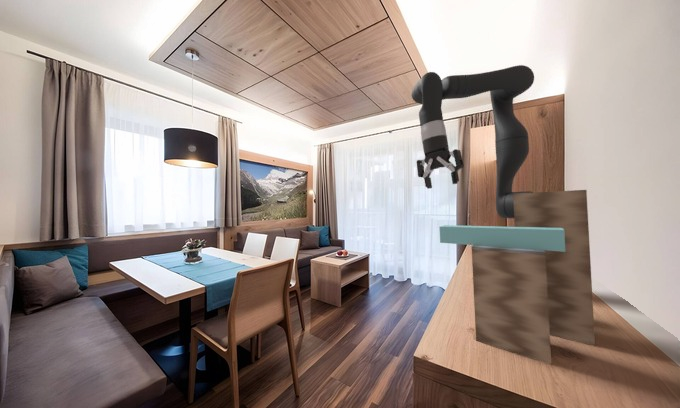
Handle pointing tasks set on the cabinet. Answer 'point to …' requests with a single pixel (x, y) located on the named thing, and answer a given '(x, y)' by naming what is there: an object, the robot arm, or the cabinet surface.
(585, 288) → the stand
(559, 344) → the cabinet surface
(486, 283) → the brown wooden block
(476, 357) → the cabinet surface
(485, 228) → the batten
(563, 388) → the cabinet surface
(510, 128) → the robot arm
